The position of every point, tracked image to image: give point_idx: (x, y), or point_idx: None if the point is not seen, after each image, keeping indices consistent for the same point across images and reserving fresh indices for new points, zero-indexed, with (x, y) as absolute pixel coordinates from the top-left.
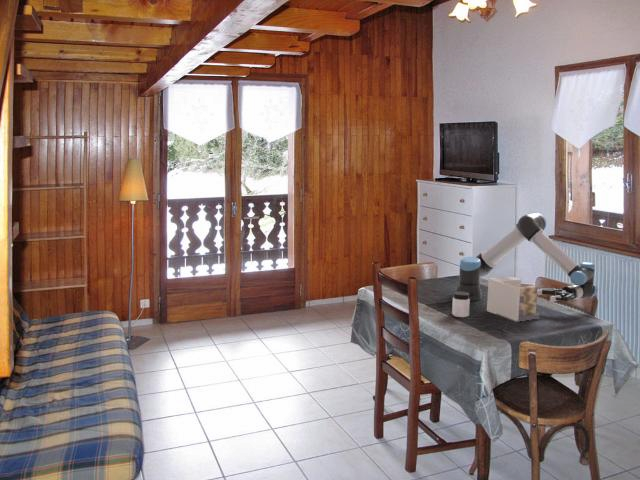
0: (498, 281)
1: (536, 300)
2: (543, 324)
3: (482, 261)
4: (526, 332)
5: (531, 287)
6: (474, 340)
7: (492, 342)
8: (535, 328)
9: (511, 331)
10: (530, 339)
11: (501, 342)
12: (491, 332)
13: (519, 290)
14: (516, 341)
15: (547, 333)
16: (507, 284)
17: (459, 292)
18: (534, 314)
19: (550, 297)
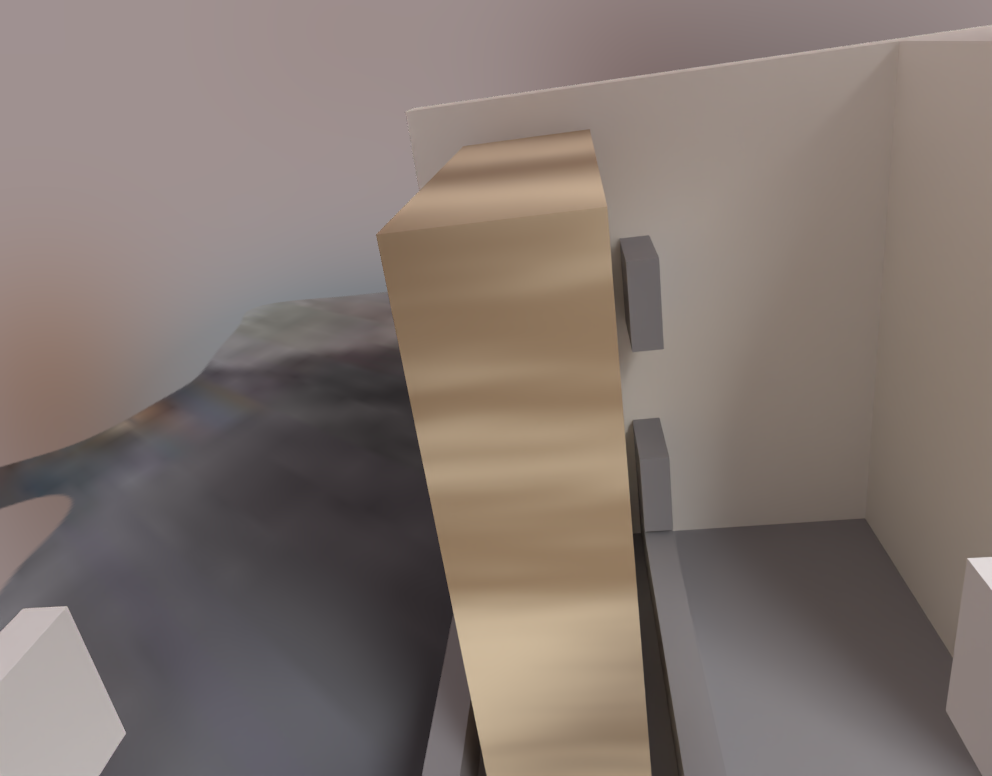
0: (902, 38)
1: (445, 561)
2: (210, 750)
3: None
4: (219, 483)
5: (445, 193)
6: (352, 303)
7: (273, 332)
8: (212, 584)
9: (319, 428)
10: (119, 445)
11: (239, 351)
12: (391, 360)
13: (414, 151)
14: (180, 391)
15: (38, 590)
16: (662, 72)
17: None
18: (441, 716)
19: (57, 630)
